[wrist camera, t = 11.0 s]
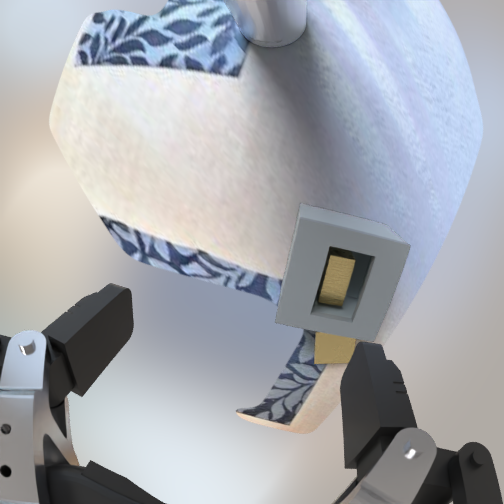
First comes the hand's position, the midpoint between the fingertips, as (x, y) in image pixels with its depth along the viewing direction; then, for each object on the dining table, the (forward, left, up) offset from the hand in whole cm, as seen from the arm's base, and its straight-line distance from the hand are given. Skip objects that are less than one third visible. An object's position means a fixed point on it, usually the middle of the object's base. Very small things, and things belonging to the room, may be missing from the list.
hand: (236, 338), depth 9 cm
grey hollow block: (+6, +8, -30) cm, 31 cm away
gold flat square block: (+10, +8, -26) cm, 29 cm away
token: (+19, +12, -30) cm, 37 cm away
